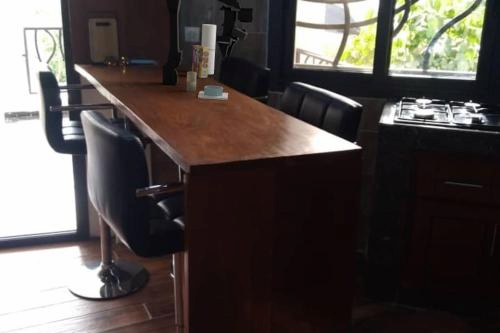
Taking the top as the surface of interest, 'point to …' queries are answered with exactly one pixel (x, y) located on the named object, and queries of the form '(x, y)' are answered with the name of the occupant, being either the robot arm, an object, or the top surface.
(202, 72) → the candy box
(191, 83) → the rail post
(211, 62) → the cylindrical container
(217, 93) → the cup bracket
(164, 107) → the top surface
